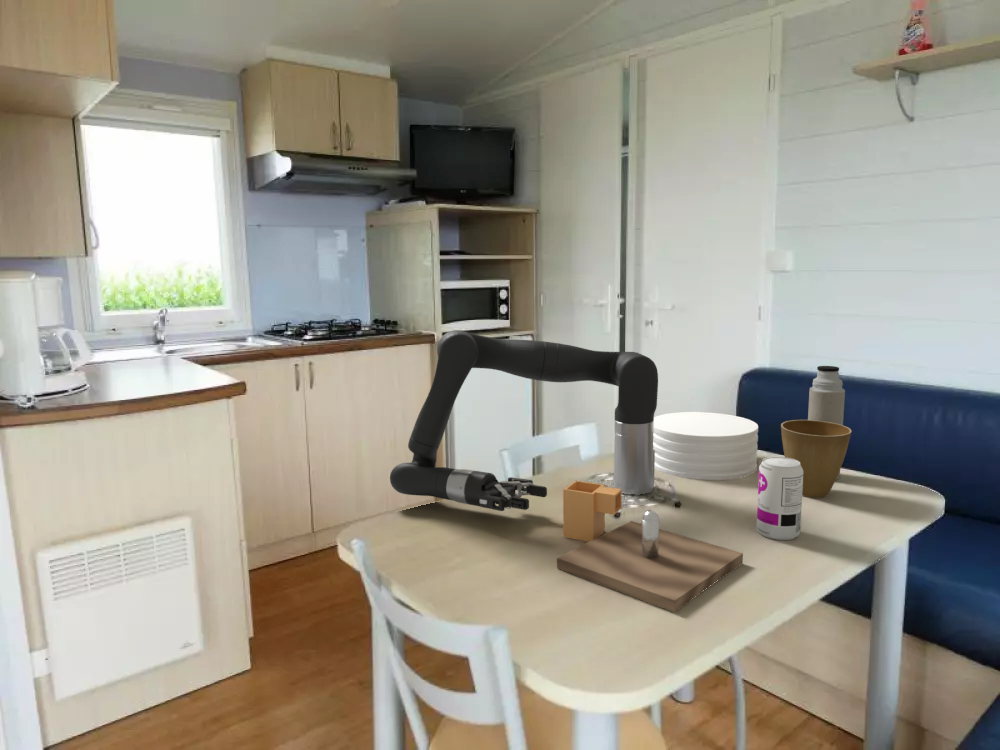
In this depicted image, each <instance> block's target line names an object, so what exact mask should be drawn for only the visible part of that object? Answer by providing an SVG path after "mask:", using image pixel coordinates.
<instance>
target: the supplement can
mask: <svg viewBox="0 0 1000 750" xmlns="http://www.w3.org/2000/svg"><path fill="white" fill-rule="evenodd" d="M802 489H803V469H802V467H801V465H800V462H799V461H797V460H795V459H791V458H786V457H785V456H769V457H764V458H762V461H761V463H760V464H759V466H758V486H757V507H756V509H757V510H756V530H757V532H759V534H761V536H763V537H765V538H767V539H772V540H777V541H790V540H794V539H796V538H797V537H798V536H799V535H800V534H801V527H802V526H801V525H802V507H803V505H802V504H803V496H802ZM795 537H796V538H795Z"/></svg>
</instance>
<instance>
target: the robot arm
mask: <svg viewBox="0 0 1000 750" xmlns="http://www.w3.org/2000/svg"><path fill="white" fill-rule="evenodd" d="M436 354H437V363H436V368H435V372H434V376H433V379H432V384H431V387H430V390H429V391H428V394H427V396H426V399H425V401H424V403H423V405H422V407H421V408H420V411H419V414H418V415H417V418H416V421H415V423H414V426H413V428H412V431H411V433H410V436H409V439H408V445H407V446H408V449H409V451H410V452H411V453H412V454H413V456H412V460H411V461H410V462H404V463H403V462H402V463H399V464H397V465H396V466H394V467H393V469H392V470H391V472H390V475H389V481H390V484H391V485H390V486H391V487H392V488H393V489H394V491H396V492H398V493H400V494H402V495H407V496H419V497H420V496H422V497H423V496H424V497H432V498H434V497H435V498H438V499H442V500H443V499H444V500H446V501H447V500H449V501H453V502H457V503H458V504H464V505H470V506H475V507H480V508H483V509H484V508H485V509H489V510H490V509H491V510H494V511H499V512H503V511H505V509H509V510H510V509H511V508H513V509H517V510H524V511H527V510H529V508H530V500H529V499H528V498H525V497H522V496H534V497H539V498H546V497H547V496H548V488H547V486H545V485H544V486H543V485H537V484H534V483H533V482H534V481H533V480H532V479H526V478H519V477H518V478H517V477H512V476H511V477H510V476H509V477H508V478H507V480H500V481H499V480H498V479H497V477H496V475H495V474H493V473H492V472H485V471H481V470H474V469H473V470H472V469H466V468H465V469H463V468H462V469H461V468H460V469H459V468H451V467H444V466H443V467H442V466H438V467H437V466H436V465H437V457H438V456H437V454H438V450H439V448H440V445H441V442H442V440H443V437H444V434H445V431H446V428H447V426H448V422H449V419H450V416H451V413H452V411H453V407H454V404H455V401H456V400H457V398H458V395H459V393H460V390H461V389H462V386H463V384H464V383H465V381H466V379H467V377H468V376H469V374H470V372H471V370H472V369H487V370H495V371H500V372H504V373H507V374H510V375H513V376H516V377H520V378H524V379H529V380H534V381H540V382H541V381H542V382H549V383H550V382H551V383H573V382H585V381H586V382H587V381H589V382H597V383H604V384H608V385H611V386H612V385H613V386H616V387H618V402H617V406H616V407H615V408H614V424H613V425H614V429H613V430H614V431H613V432H614V434H613V435H614V439H613V440H614V445H613V446H614V450H613V451H614V453H613V454H614V455H613V457H614V458H613V463H614V464H613V488H614V487H615V488H617V489H622V492H625V493H630V494H643V495H647V494H649V493H652V492H653V489H654V488H655V469H654V465H655V450H654V449H653V439H654V417H655V412H656V411H657V406H658V392H659V391H658V390H659V373H658V369H657V368H658V367H657V366H656V363H655V362H654V361H653V360H652V359H651V358H650V357H648V356H646V355H644V354H642V353H639V352H635V351H604V350H603V351H600V350H599V351H598V350H594V349H593V350H591V349H587V348H584V347H579V346H575V345H570V344H564V343H559V342H553V341H552V342H551V341H544V340H532V339H514V338H513V339H510V338H509V339H508V338H507V339H504V338H495V337H489V336H485V335H480V334H475V333H471V332H468V331H464V330H459V329H457V330H455V329H454V330H450V331H448V332H446V333H444V334H443V335H442V336H441V338H440V339H439V340H438V343H437V347H436ZM646 493H647V494H646Z"/></svg>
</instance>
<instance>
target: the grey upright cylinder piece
mask: <svg viewBox="0 0 1000 750" xmlns="http://www.w3.org/2000/svg"><path fill="white" fill-rule="evenodd" d="M641 524H642V556H643V557H644V558H647V559H656V558H658V557H659V529H660V516H659V514H658V513H657V512H656V511H654V510H652V509H650V510H649V509H648V510H647V511H645V512H644V513H643V514H642V517H641Z"/></svg>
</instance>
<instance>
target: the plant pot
mask: <svg viewBox="0 0 1000 750" xmlns="http://www.w3.org/2000/svg"><path fill="white" fill-rule="evenodd" d="M780 430H781V441H782V449H783V454H784V457H786V458H791V459H795V460H797V461H799V462H800V465H801V467H802V469H803V489H802V497H806V498H814V499H822V498H825V497H828V496H829V495H830V492H831V490H832V488H833V486H834V484H835V483H836V481H837V479H836V478H837V476H838V474H839V471H840V472H841V468H842V466H843V463H844V460H845V457H846V455H847V450H848V448H849V447H848V446H849V443H850V439H851V435H852V429H851V428H850V427H848V426H845V425H844V424H843V425H840V424H836V423H831V422H824V421H816V420H808V419H792V420H786V421H783V422H782V423H780Z"/></svg>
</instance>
